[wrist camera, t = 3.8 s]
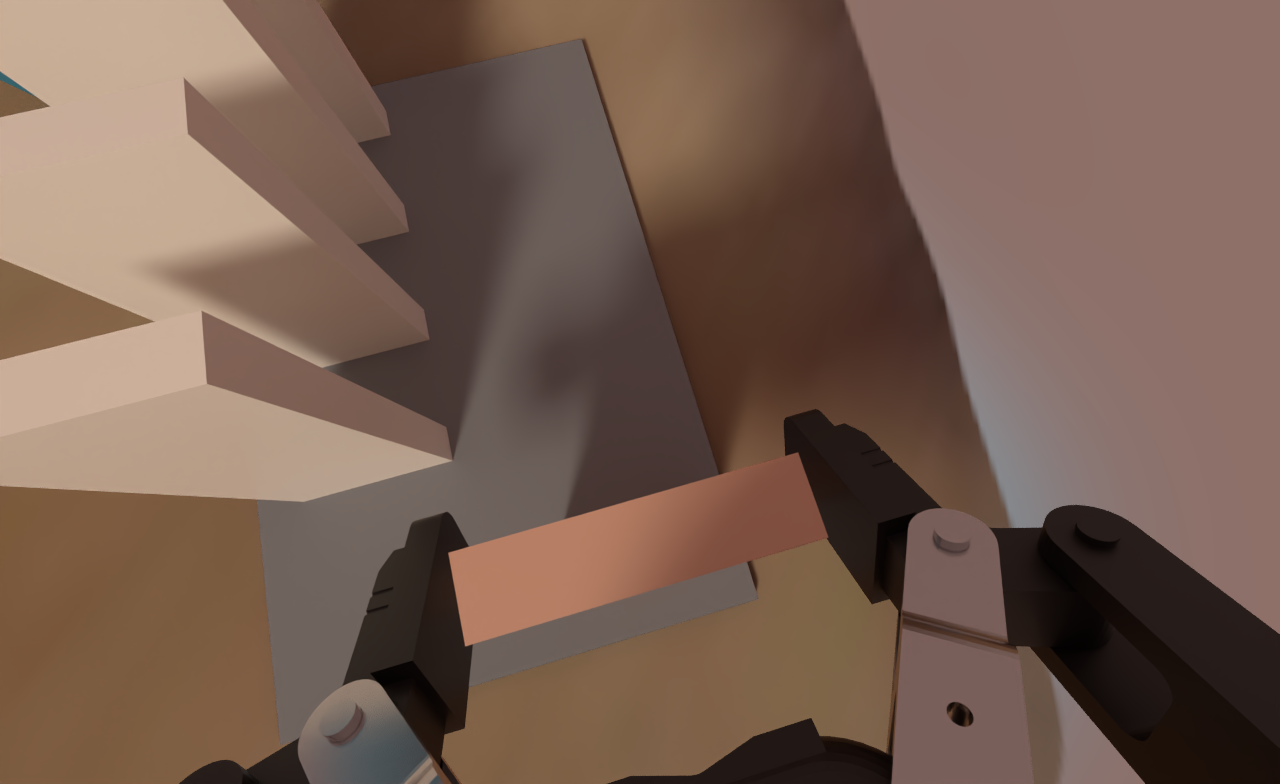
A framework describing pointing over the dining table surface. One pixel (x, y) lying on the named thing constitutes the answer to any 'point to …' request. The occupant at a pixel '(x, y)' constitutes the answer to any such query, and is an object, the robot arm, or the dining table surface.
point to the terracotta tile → (633, 547)
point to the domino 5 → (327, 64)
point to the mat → (501, 369)
